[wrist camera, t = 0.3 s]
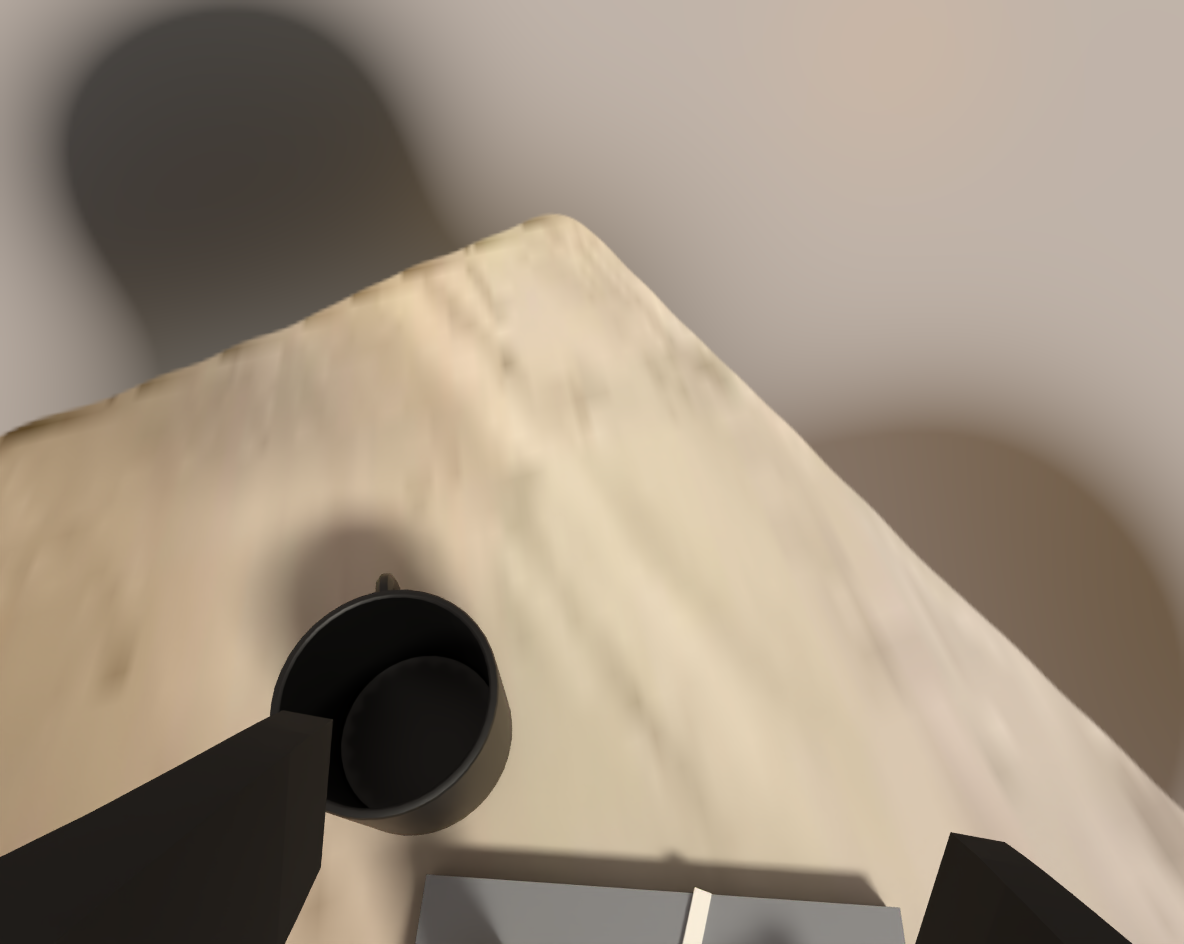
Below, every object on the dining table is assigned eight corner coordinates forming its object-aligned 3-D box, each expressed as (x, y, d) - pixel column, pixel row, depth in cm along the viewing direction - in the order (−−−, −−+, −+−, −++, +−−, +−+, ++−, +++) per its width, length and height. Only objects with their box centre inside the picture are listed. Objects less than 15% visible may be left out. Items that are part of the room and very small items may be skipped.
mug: (486, 590, 41) (468, 519, 33) (529, 805, 35) (519, 781, 27) (324, 628, 39) (264, 563, 31) (339, 860, 33) (270, 851, 25)
